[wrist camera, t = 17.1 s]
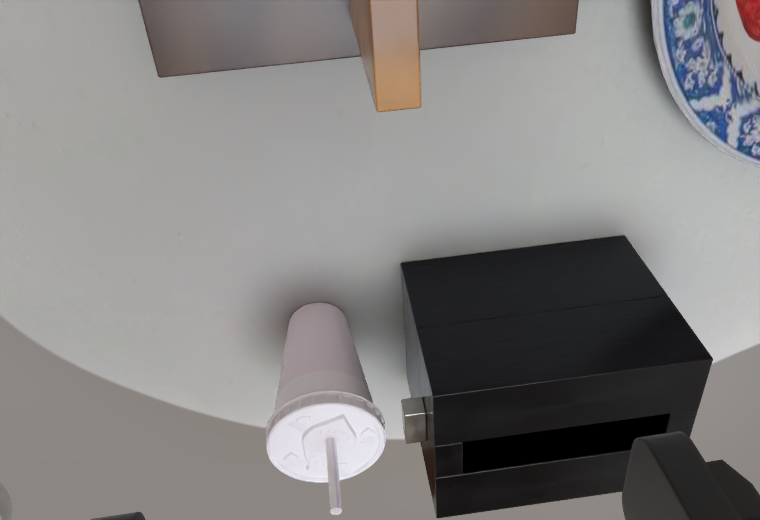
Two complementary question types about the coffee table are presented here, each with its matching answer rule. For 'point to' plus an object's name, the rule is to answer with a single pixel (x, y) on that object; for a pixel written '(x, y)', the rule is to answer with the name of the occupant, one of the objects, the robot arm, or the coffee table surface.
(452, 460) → the toaster
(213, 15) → the cutting board
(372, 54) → the toast
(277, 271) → the coffee table surface
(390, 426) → the coffee table surface
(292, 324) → the smoothie
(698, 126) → the ceramic plate
